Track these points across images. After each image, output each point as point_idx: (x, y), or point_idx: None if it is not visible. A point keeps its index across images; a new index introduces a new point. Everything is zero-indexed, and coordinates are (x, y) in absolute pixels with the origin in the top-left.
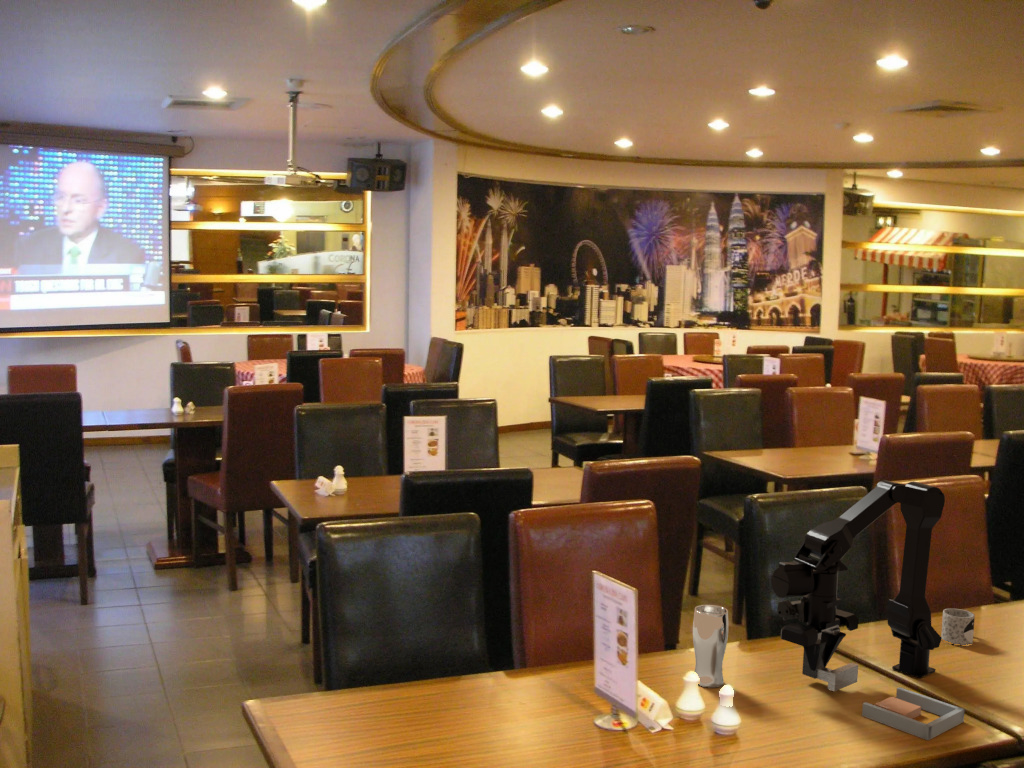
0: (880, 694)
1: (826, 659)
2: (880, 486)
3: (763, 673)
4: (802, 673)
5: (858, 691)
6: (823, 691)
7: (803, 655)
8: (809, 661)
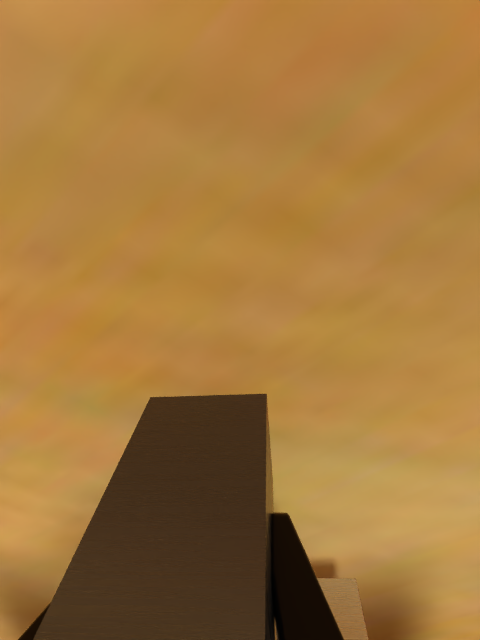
0: (384, 618)
1: (276, 634)
2: None
3: (5, 72)
4: (149, 401)
5: (334, 566)
6: None
7: (78, 547)
8: None
